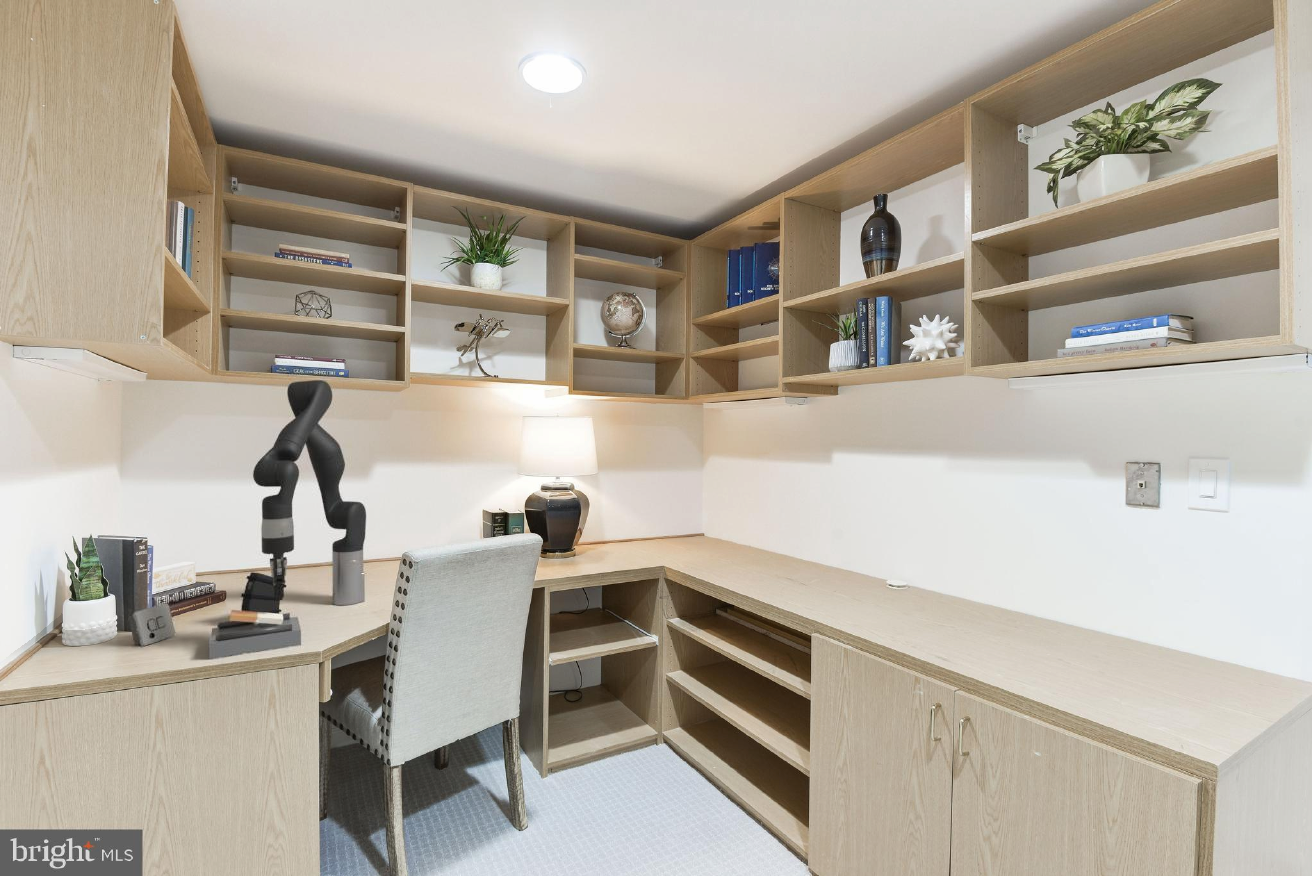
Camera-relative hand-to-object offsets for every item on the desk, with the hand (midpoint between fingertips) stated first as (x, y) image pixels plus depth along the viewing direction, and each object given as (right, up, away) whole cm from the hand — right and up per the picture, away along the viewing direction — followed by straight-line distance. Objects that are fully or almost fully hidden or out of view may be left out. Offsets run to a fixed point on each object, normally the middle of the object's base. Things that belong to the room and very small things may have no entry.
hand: (279, 597), depth 173 cm
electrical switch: (-34, -12, 0) cm, 36 cm away
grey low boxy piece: (-4, -12, -3) cm, 13 cm away
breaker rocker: (-4, -5, -3) cm, 7 cm away
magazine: (-15, -12, +18) cm, 26 cm away
